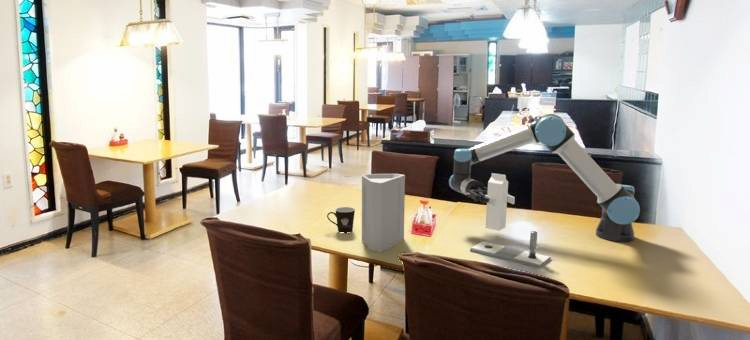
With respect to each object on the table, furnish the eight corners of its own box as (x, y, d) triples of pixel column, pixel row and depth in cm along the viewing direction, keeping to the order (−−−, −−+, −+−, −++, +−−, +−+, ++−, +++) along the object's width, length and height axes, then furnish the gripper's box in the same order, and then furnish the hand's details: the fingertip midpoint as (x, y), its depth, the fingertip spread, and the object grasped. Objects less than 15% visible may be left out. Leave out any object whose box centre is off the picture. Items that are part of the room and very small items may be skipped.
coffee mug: (358, 229, 224) (358, 208, 222) (349, 235, 217) (349, 213, 215) (335, 226, 229) (335, 205, 227) (326, 231, 221) (325, 209, 219)
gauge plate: (550, 258, 190) (551, 255, 190) (539, 268, 181) (539, 264, 180) (483, 243, 207) (484, 240, 207) (470, 251, 198) (470, 247, 198)
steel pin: (536, 257, 188) (538, 231, 186) (534, 258, 186) (535, 233, 184) (530, 255, 190) (532, 230, 188) (527, 257, 188) (529, 232, 186)
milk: (491, 224, 203) (494, 171, 199) (505, 227, 200) (509, 173, 196) (485, 228, 198) (488, 174, 194) (499, 231, 195) (502, 176, 191)
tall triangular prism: (375, 233, 220) (375, 171, 214) (404, 239, 212) (405, 174, 206) (350, 245, 204) (349, 178, 199) (380, 252, 196) (381, 183, 191)
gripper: (493, 195, 218) (526, 208, 197) (451, 199, 210) (480, 213, 189) (494, 178, 216) (527, 190, 195) (452, 181, 209) (481, 194, 188)
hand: (504, 201), depth 192 cm, fingers closed on milk, 8 cm apart
